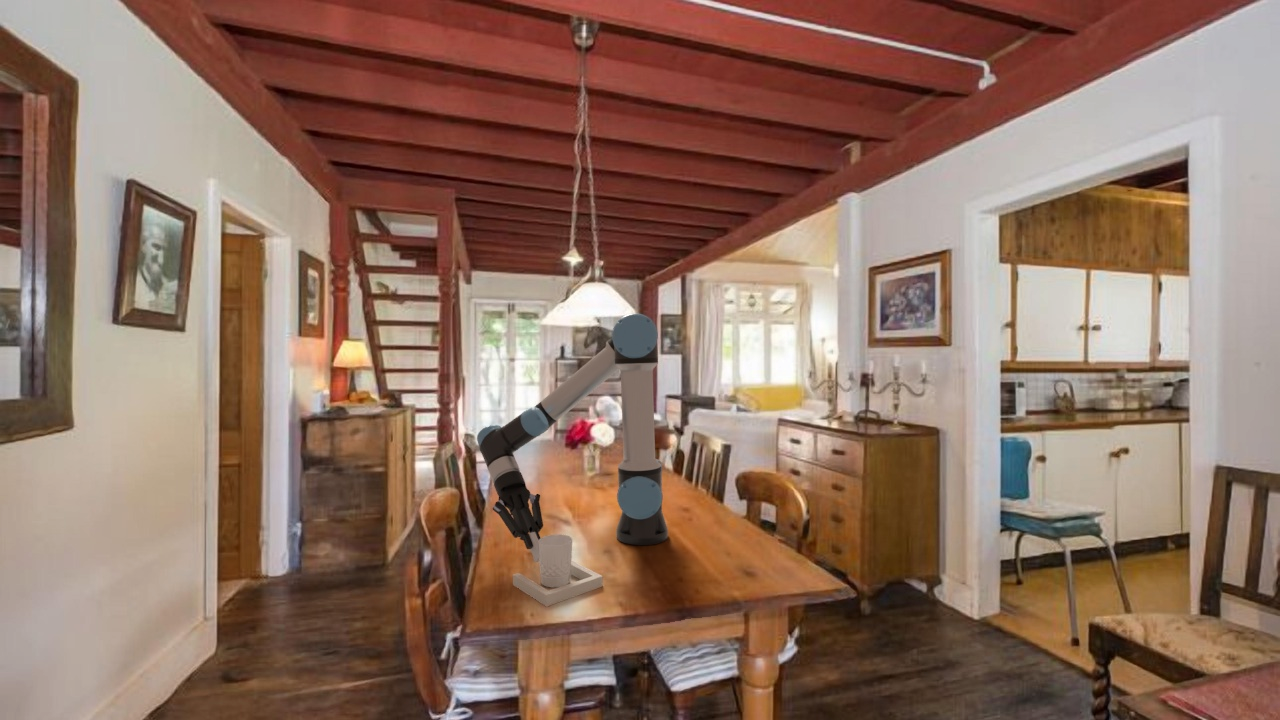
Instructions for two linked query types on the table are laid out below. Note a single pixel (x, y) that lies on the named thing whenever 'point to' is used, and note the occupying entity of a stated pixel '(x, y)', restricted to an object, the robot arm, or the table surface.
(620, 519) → the robot arm
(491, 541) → the table surface
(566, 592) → the bay
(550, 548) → the white cup
